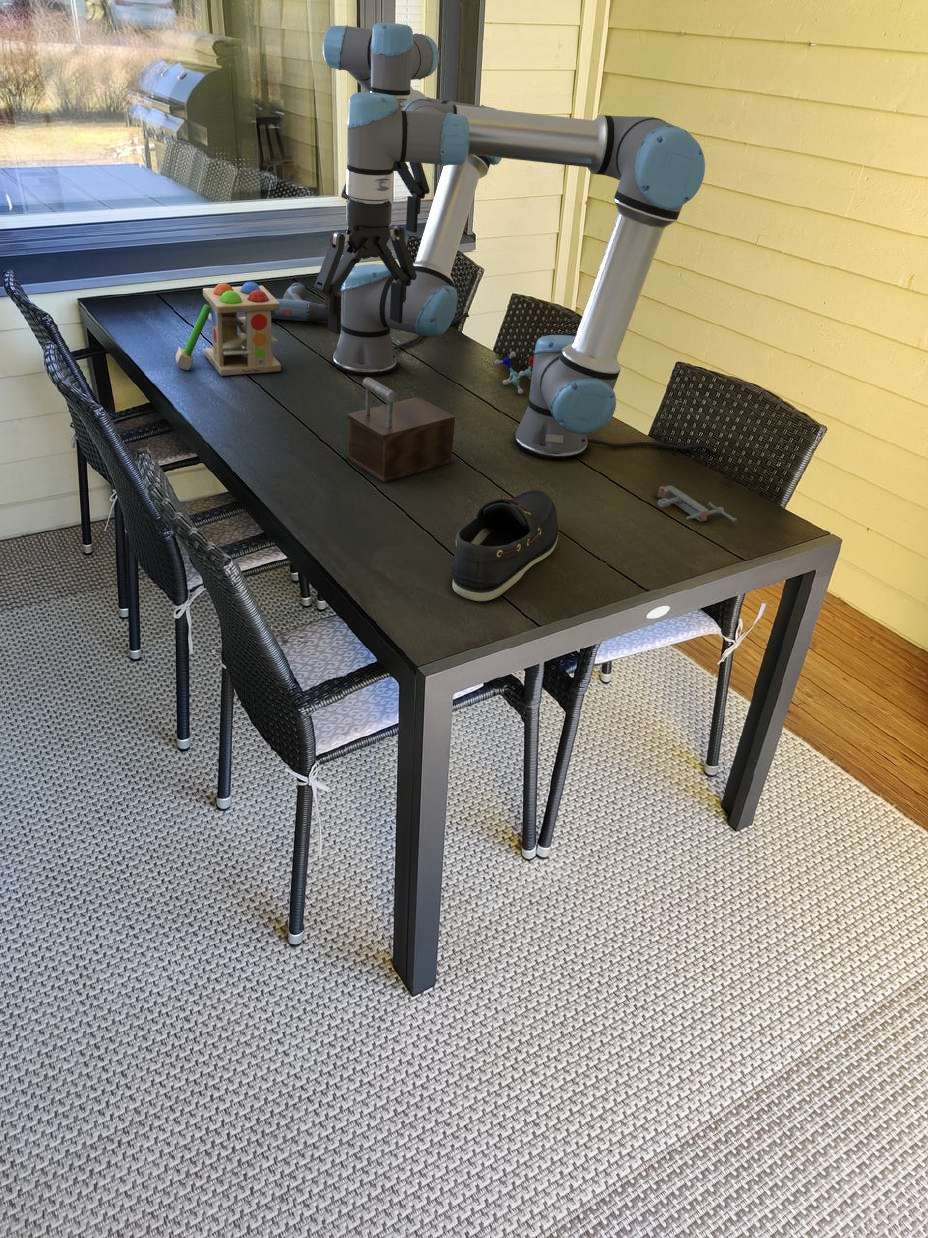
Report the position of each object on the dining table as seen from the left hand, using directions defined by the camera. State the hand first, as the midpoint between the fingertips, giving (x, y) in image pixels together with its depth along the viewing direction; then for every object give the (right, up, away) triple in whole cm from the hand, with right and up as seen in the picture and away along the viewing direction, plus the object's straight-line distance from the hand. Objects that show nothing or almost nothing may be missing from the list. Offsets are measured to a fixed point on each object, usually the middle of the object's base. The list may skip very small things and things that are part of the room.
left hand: (385, 234), depth 199 cm
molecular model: (+28, -23, +35) cm, 51 cm away
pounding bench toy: (-40, -18, +31) cm, 54 cm away
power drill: (-27, +5, +68) cm, 74 cm away
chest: (+3, -47, -3) cm, 47 cm away
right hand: (-1, -26, -25) cm, 36 cm away
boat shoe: (+23, -67, -31) cm, 78 cm away
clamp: (+59, -58, -12) cm, 84 cm away
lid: (+4, -39, -9) cm, 40 cm away
